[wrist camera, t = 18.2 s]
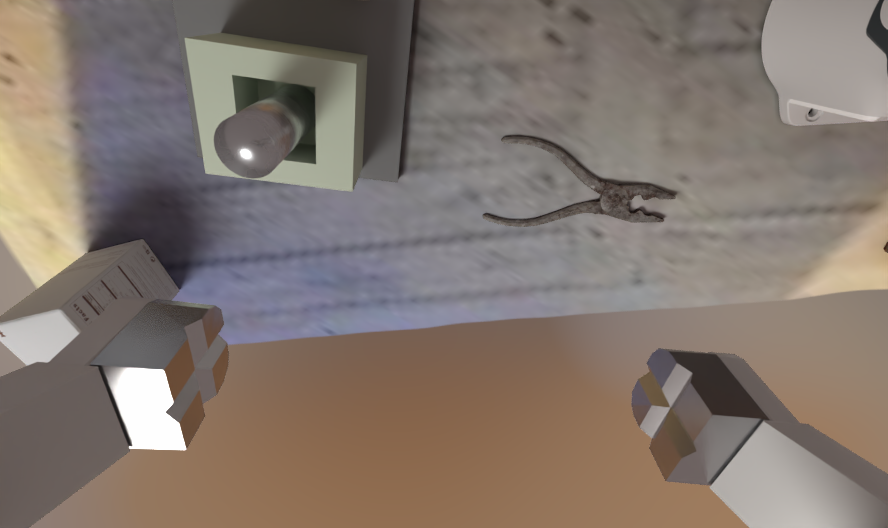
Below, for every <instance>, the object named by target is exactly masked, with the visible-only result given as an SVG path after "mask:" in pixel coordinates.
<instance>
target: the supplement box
mask: <svg viewBox="0 0 888 528" xmlns="http://www.w3.org/2000/svg"><path fill="white" fill-rule="evenodd" d="M178 292H179V289H178V287H177V286H176V284H175V283H174V281H173V280H172V279H171V277H170V276H169V274H168V273H167V271H166V270H165V268H164V267H163V266H162V264H161V263H160V261H159V260H158V259H157V257H156V256H155V254H154V253H153V252H152V250H151V249H150V248H149V246H148V245H147V243H146V242H145V241H144V240H143V239H140V240H136V241H131V242H127V243H124V244H120V245H116V246H112V247H108V248H104V249H100V250H97V251H93V252H89V253H85V254H84V255H83V256H82V257H80V258H79V259H78V260H76V261H75V262H73V263H72V264H71V265H69V266H68V267H67V268H65V269H64V270H63V271H61V272H60V273H58V274H57V275H56V276H54V277H53V278H52V279H50V280H49V281H48V282H46V283H45V284H43V285H42V286H41V287H39V288H38V289H37V290H35V291H34V292H33V293H31V294H30V295H29V296H27V297H26V298H24V299H23V300H22V301H21V302H19V303H18V304H16V305H15V306H14V307H12V308H11V309H9V310H8V311H7V312H5V313H4V314H3V315H1V316H0V341H1V342H2V343H3V344H4V345H5V346H6V347H7V348H8V349H9V350H11V351H12V352H13V353H14V354H15V355H16V356H17V357H18V358H19V359H20V360H22V361H23V362H24V363H25V364H26V365H27V366H28V365H30V364H33V363H35V362H49V361H50V360H51V359H52V358H54V357H55V356H56V355H57V354H58V353H59V352H60V351H61V350H62V349H63V348H64V347H65V346H67V345H68V344H69V343H70V342H71V341H72V340H73V339H74V338H75V337H76V336H77V335H78V334H79V333H81V332H82V331H83V330H84V329H85V328H86V327H87V326H88V325H89V324H90V323H91V322H92V321H94V320H95V319H96V318H97V317H98V316H99V315H100V314H101V313H102V312H103V311H104V310H105V309H107V308H108V307H109V306H110V305H111V304H112V303H113V302H114V301H115V300H116V299H118V298H122V297H125V296H132V297H141V298H150V299H162V300H172V299H173V298H174V297H175V296H176V295H177V293H178Z"/></svg>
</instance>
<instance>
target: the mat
mask: <svg viewBox="0 0 888 528" xmlns="http://www.w3.org/2000/svg"><path fill="white" fill-rule="evenodd" d="M172 3H173V9H174V15H175V21H176V27H177V33H178V39H179V46H180V52H181V58H182V64H183V70H184V76H185V82H186V89H187V95H188V101H189V107H190V113H191V119H192V125H193V132H194V138H195V144H196V150H197V156H198V157H201V158H203V154H202V147H201V141H200V134H199V128H198V122H197V115H196V109H195V102H194V96H193V90H192V83H191V77H190V70H189V64H188V58H187V51H186V45H185V38H186V37H193V36H200V35H207V34H214V33H227V34H233V35H240V36H246V37H253V38H259V39H266V40H272V41H278V42H285V43H291V44H298V45H304V46H311V47H317V48H324V49H330V50H337V51H343V52H350V53H356V54H363V55H367V76H366V98H365V121H364V143H363V166H362V170H361V173H360V175H359V177H358V178H366V179H374V180H381V181H389V182H397V183H398V176H399V165H400V154H401V143H402V132H403V121H404V110H405V99H406V88H407V77H408V66H409V55H410V44H411V33H412V22H413V11H414V0H172Z"/></svg>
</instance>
